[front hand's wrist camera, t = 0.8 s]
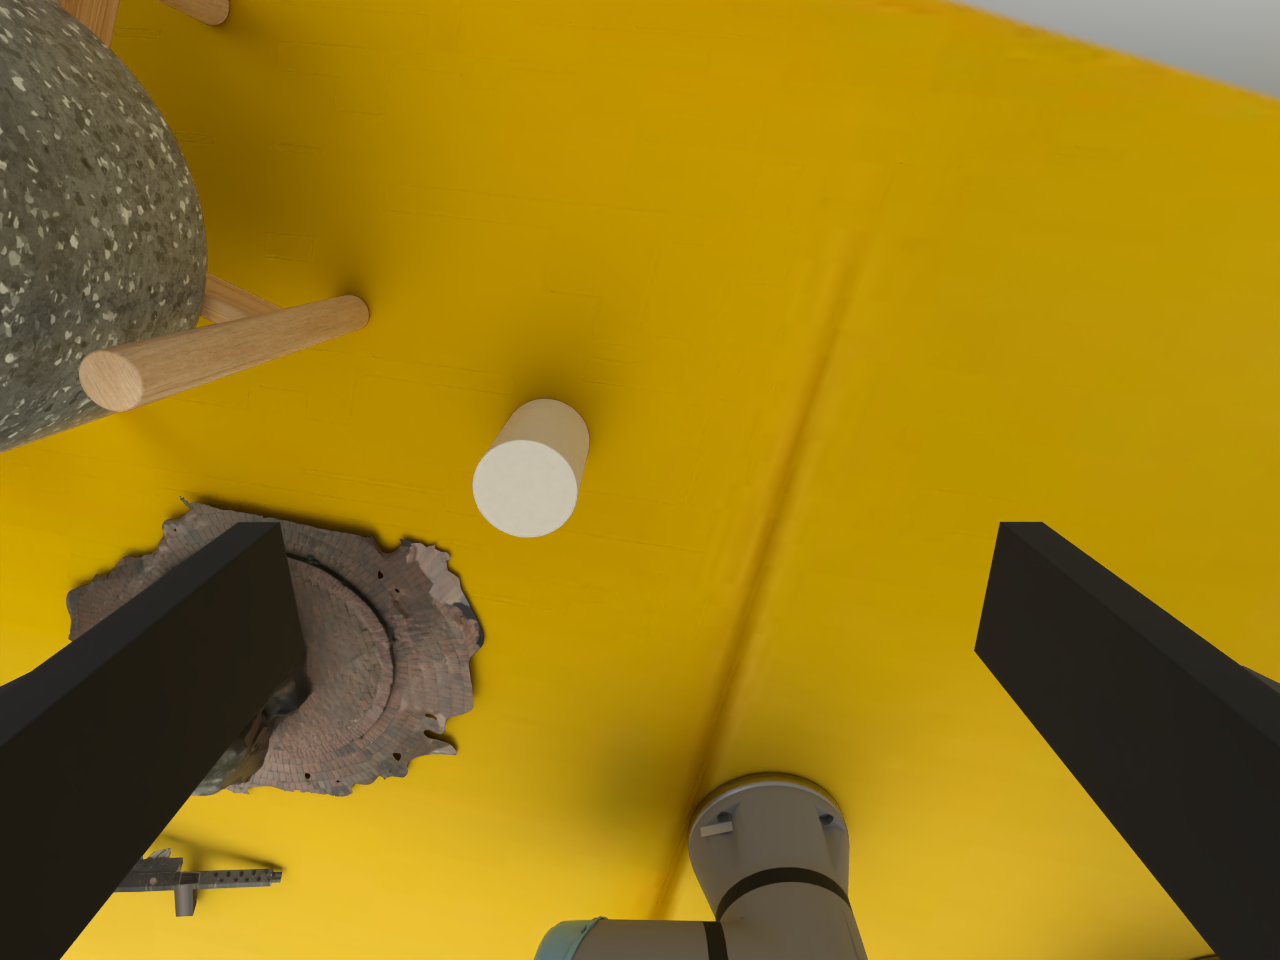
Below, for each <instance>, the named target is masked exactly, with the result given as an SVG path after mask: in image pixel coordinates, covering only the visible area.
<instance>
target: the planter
mask: <svg viewBox="0 0 1280 960" xmlns="http://www.w3.org/2000/svg"><path fill="white" fill-rule="evenodd" d="M157 1H159V2H161V3H163V4H165V5H167V6H170V7H172V8H174V9H176V10H178V11H180V12H182V13H184V14H186V15H188V16H191V17H193V18H195V19H197V20H199V21H201V22H203V23H205V24H208V25H218V24H220V23H222V22H223V21H224V20H225V19H226V17H227V15H228V12H229V1H228V0H157ZM119 3H120V0H0V453H3V452H6V451H9V450H11V449H14V448H17V447H20V446H23V445H26V444H29V443H32V442H34V441H37V440H40V439H43V438H46V437H49V436H52V435H55V434H57V433H60V432H63V431H66V430H69V429H72V428H75V427H78V426H80V425H83V424H86V423H89V422H92V421H95V420H98V419H100V418H103V417H106V416H109V415H112V414H115V413H118V412H123V411H128V410H132V409H134V408H137V407H140V406H143V405H146V404H149V403H151V402H154V401H157V400H160V399H163V398H166V397H168V396H171V395H174V394H177V393H180V392H183V391H186V390H188V389H191V388H194V387H197V386H200V385H203V384H205V383H208V382H211V381H214V380H217V379H220V378H222V377H225V376H228V375H231V374H234V373H237V372H240V371H242V370H245V369H248V368H251V367H254V366H257V365H259V364H262V363H265V362H268V361H271V360H274V359H276V358H279V357H282V356H285V355H288V354H291V353H294V352H296V351H299V350H302V349H305V348H308V347H311V346H313V345H316V344H319V343H322V342H325V341H328V340H330V339H333V338H336V337H339V336H342V335H345V334H348V333H350V332H353V331H356V330H359V329H361V328H363V327H364V326H365V325H366V324H367V322H368V319H369V311H368V308H367V306H366V304H365V303H364V302H363V301H362V300H361V299H360V298H358V297H356V296H353V295H345V296H341V297H336V298H331V299H327V300H322V301H318V302H313V303H309V304H304V305H300V306H295V307H291V308H286V309H282V308H280V307H278V306H276V305H274V304H272V303H270V302H268V301H266V300H264V299H262V298H260V297H257V296H255V295H253V294H251V293H249V292H247V291H245V290H243V289H241V288H239V287H237V286H235V285H233V284H230V283H228V282H226V281H224V280H222V279H220V278H218V277H216V276H214V275H212V274H210V273H208V272H207V261H208V259H207V242H206V232H205V226H204V220H203V213H202V209H201V206H200V202H199V198H198V194H197V190H196V187H195V184H194V181H193V178H192V175H191V173H190V170H189V167H188V164H187V162H186V160H185V158H184V155H183V153H182V151H181V149H180V147H179V144H178V142H177V140H176V138H175V136H174V135H173V133H172V131H171V129H170V127H169V126H168V124H167V122H166V120H165V118H164V117H163V115H162V113H161V112H160V110H159V109H158V107H157V106H156V104H155V103H154V101H153V100H152V98H151V97H150V95H149V94H148V92H147V91H146V90H145V89H144V87H143V86H142V85H141V84H140V82H139V81H138V80H137V78H136V77H135V76H134V75H133V73H132V72H131V71H130V70H129V68H128V67H127V66H126V65H125V64H124V63H123V62H122V61H121V60H120V59H119V58H118V57H117V56H116V54H115V53H114V52H113V51H112V50H111V49H110V46H111V41H112V36H113V31H114V27H115V22H116V17H117V12H118V7H119ZM199 316H202V317H204V318H206V319H208V320H210V321H212V322H214V323H216V324H213V325H209V326H204V327H200V328H195V327H196V325H197V323H198V320H199Z"/></svg>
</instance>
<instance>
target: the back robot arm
mask: <svg viewBox="0 0 1280 960" xmlns="http://www.w3.org/2000/svg"><path fill="white" fill-rule="evenodd" d="M1199 960H1220V959H1219V957H1218V956H1215V957H1208V958H1203V959H1199Z"/></svg>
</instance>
